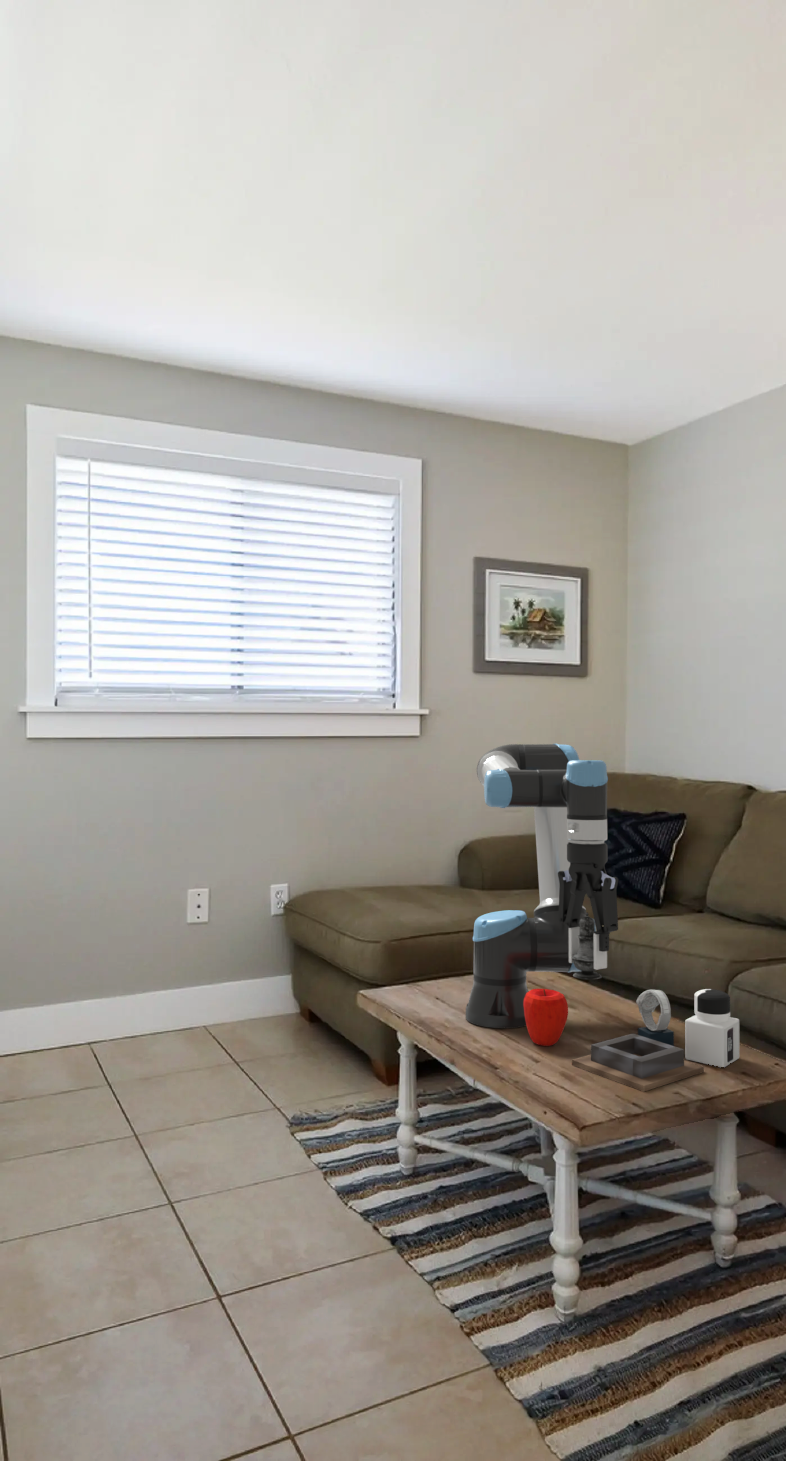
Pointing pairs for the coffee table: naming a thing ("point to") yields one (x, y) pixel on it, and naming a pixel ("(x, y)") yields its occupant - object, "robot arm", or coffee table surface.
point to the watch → (646, 1007)
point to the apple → (545, 1015)
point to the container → (712, 1030)
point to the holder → (638, 1062)
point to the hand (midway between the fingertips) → (587, 965)
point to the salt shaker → (586, 950)
